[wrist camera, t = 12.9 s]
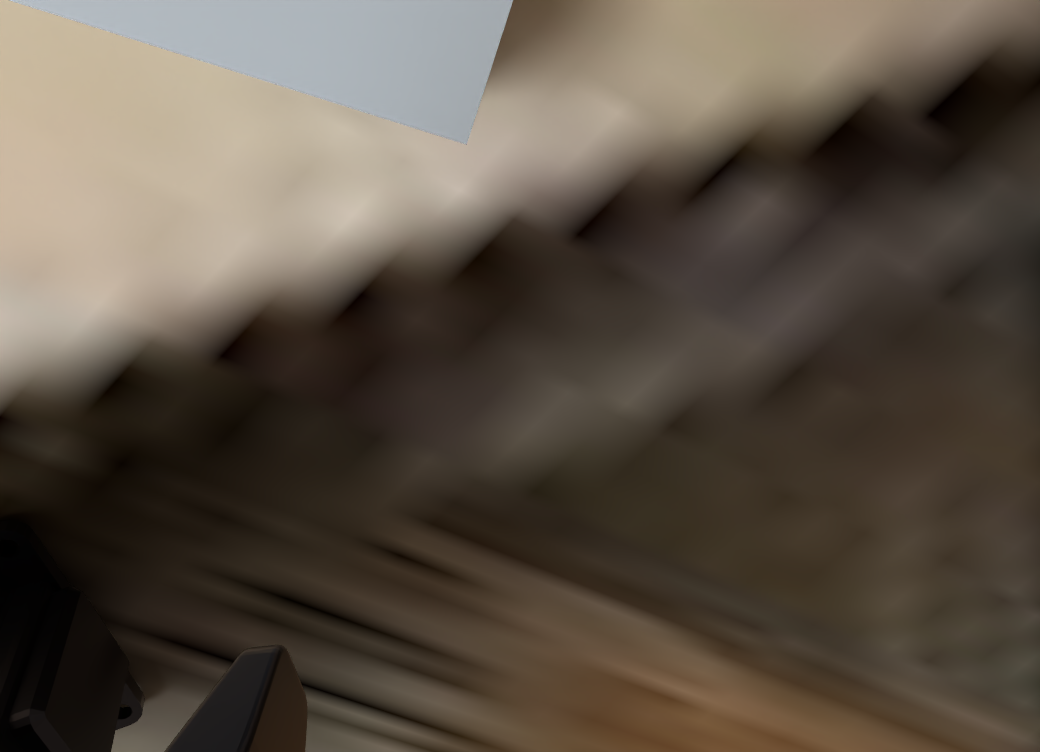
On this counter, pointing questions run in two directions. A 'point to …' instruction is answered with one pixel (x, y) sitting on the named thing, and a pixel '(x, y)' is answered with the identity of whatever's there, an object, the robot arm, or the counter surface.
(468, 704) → the counter surface
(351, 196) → the counter surface
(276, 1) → the well block
